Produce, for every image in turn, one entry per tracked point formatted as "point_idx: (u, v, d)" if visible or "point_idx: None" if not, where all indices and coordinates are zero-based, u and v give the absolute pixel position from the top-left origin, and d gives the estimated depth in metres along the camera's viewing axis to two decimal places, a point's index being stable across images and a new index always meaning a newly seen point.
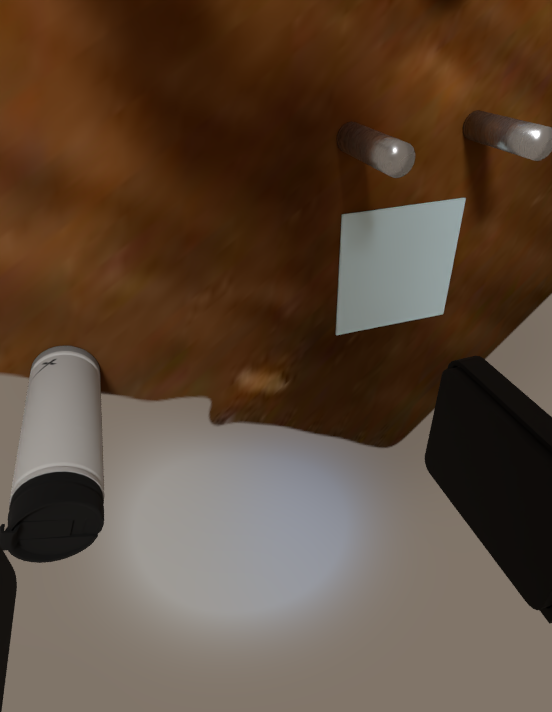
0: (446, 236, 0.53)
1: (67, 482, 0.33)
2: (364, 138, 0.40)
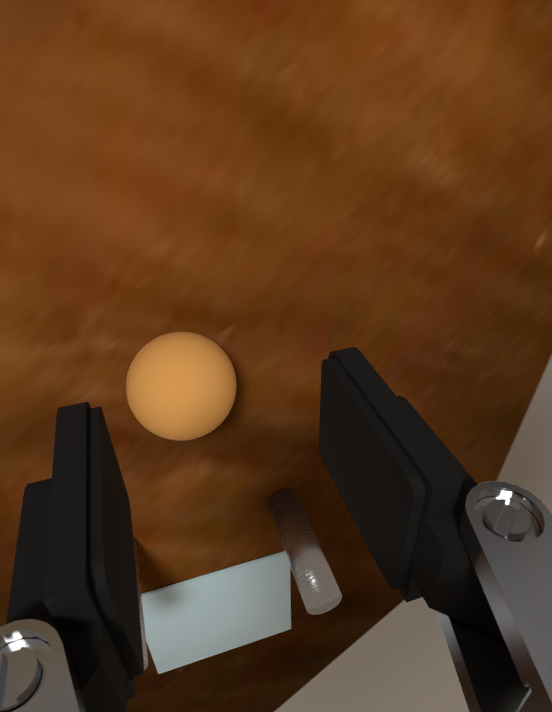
0: (274, 580, 0.46)
1: None
2: None
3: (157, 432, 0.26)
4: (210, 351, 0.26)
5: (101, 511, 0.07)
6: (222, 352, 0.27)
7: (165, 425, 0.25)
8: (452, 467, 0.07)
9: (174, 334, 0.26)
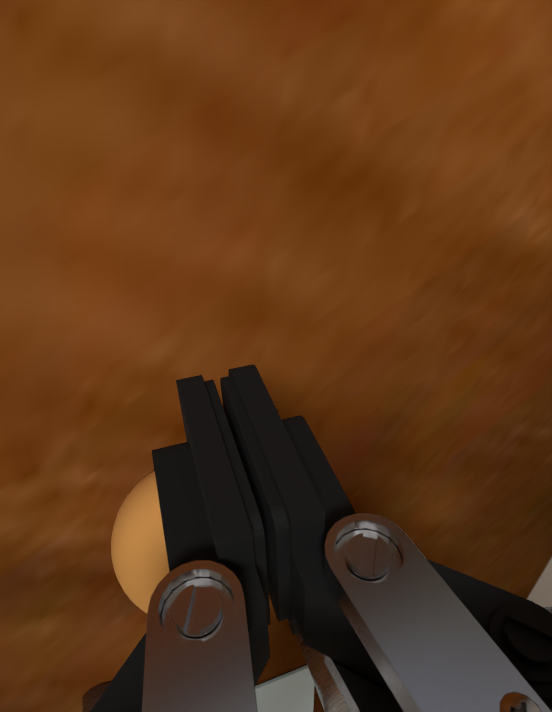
0: (296, 695, 0.38)
1: None
2: None
3: None
4: None
5: (243, 469, 0.08)
6: None
7: None
8: (316, 499, 0.07)
9: None
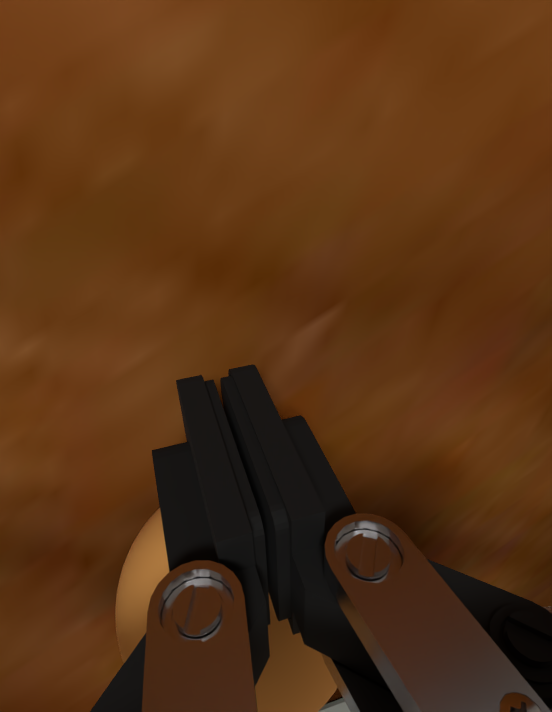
0: None
1: None
2: None
3: None
4: None
5: (243, 469, 0.08)
6: None
7: None
8: (317, 499, 0.07)
9: (279, 659, 0.10)
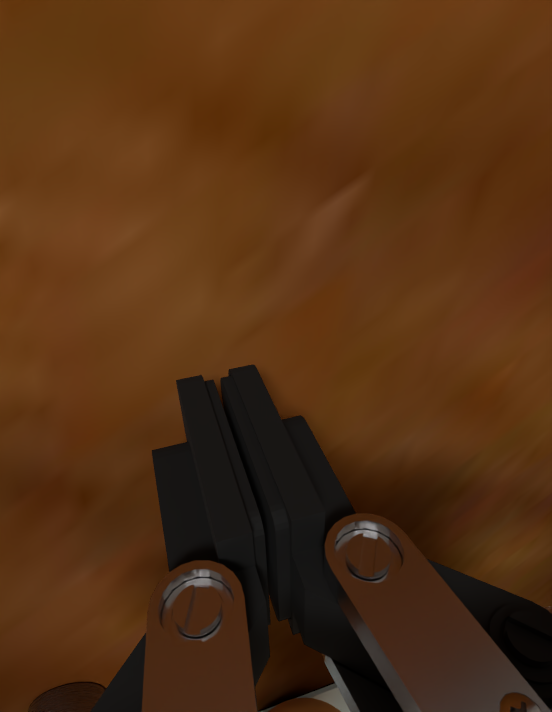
0: None
1: None
2: None
3: None
4: None
5: (243, 469, 0.08)
6: None
7: None
8: (317, 499, 0.07)
9: None
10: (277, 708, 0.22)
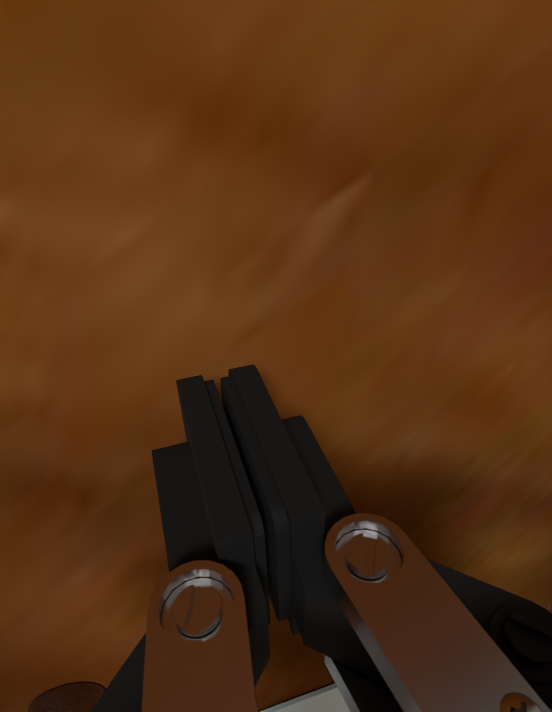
0: None
1: None
2: None
3: None
4: None
5: (243, 469, 0.08)
6: None
7: None
8: (317, 499, 0.07)
9: None
10: None
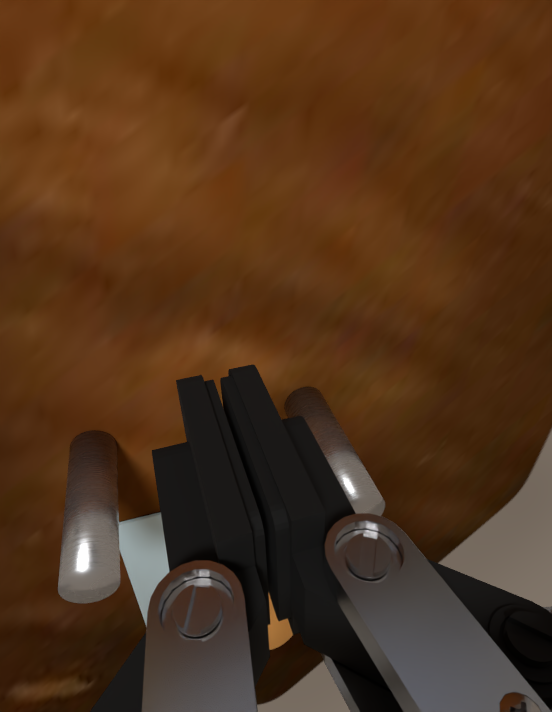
0: None
1: None
2: (67, 504, 0.25)
3: None
4: None
5: (243, 469, 0.08)
6: None
7: None
8: (317, 499, 0.07)
9: None
10: None
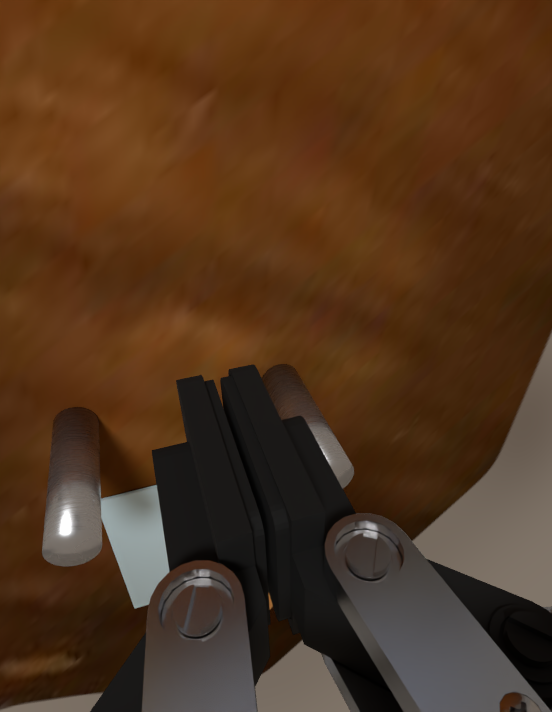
0: None
1: None
2: (50, 475, 0.26)
3: None
4: None
5: (243, 469, 0.08)
6: None
7: None
8: (317, 499, 0.07)
9: None
10: None
